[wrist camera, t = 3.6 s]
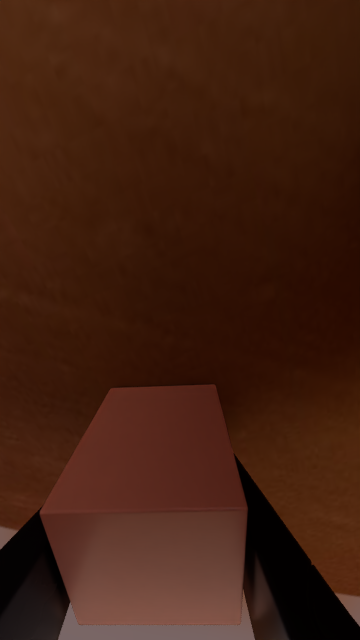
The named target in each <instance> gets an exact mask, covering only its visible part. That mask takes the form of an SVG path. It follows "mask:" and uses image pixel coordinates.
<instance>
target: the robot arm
mask: <svg viewBox="0 0 360 640" xmlns="http://www.w3.org/2000/svg"><path fill="white" fill-rule="evenodd" d="M234 457H235V461H236V465H237V469H238V472H239V476H240V480H241V484H242V488H243V491H244V495H245V499H246V503H247V507H248V514H247V530H246V547H245V564H244V580H243V590H244V594H245V598H246V603H247V607H248V611H249V616H250V620H251V624H252V628H253V633H254V637H255V640H360V626H359V625H358V624H357V622H356V621H355V620H354V619H353V618H352V616H351V615H350V614H349V612H348V611H347V610H346V608H345V607H344V605H343V604H342V603H341V602H340V600H339V599H338V597H337V596H336V595H335V593H334V592H333V591H332V589H331V588H330V587H329V585H328V584H327V583H326V581H325V580H324V578H323V577H322V576H321V574H320V573H319V571H318V570H317V569H316V567H315V566H314V565H311V560H310V559H309V558H308V556H307V555H306V553H305V552H304V551H303V549H302V548H301V546H300V545H299V544H298V542H297V541H296V539H295V538H294V537H293V535H292V534H291V532H290V531H289V530H288V528H287V527H286V525H285V524H284V523H283V521H282V520H281V518H280V517H279V516H278V514H277V513H276V511H275V510H274V509H273V507H272V506H271V504H270V503H269V502H268V500H267V499H266V497H265V496H264V495H263V493H262V492H261V490H260V489H259V488H258V486H257V485H256V483H255V482H254V481H253V479H252V478H251V476H250V475H249V474H248V472H247V471H246V469H245V468H244V467H243V465H242V464H241V462H240V461H239V460H238V458H237V457H236V455H235V454H234ZM42 507H43V506H42ZM42 507H41V508H42ZM41 508H40V509H39V510H38V511H37V512H36V513H35V514H34V515H33V516H32V518H31V519H30V520H29V521H28V522H27V523H26V524H25V525H24V526H23V527H22V528H21V529H20V530H19V531H18V532H17V533H16V534H15V535H14V536H13V537H12V538H11V539H10V541H8V542H7V543H6V545H4V546H3V548H2V549H1V550H0V640H58V637H59V634H60V631H61V628H62V625H63V622H64V619H65V616H66V613H67V610H68V607H69V604H70V599H69V596H68V594H67V591H66V588H65V585H64V582H63V579H62V576H61V574H60V571H59V568H58V565H57V562H56V559H55V557H54V554H53V551H52V548H51V545H50V542H49V540H48V537H47V534H46V531H45V528H44V525H43V523H42V520H41V517H40V510H41Z"/></svg>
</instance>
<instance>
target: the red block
mask: <svg viewBox="0 0 360 640" xmlns="http://www.w3.org/2000/svg"><path fill="white" fill-rule="evenodd" d="M247 514H248V507H247V503H246V499H245V495H244V491H243V488H242V484H241V480H240V476H239V472H238V469H237V465H236V461H235V457H234V453H233V450H232V446H231V442H230V438H229V434H228V431H227V427H226V423H225V419H224V415H223V411H222V408H221V404H220V400H219V396H218V392H217V389H216V385H215V384H210V385H182V386H154V387H126V388H111V389H110V390H109V392H108V394H107V395H106V397H105V399H104V401H103V402H102V404H101V406H100V407H99V409H98V411H97V413H96V414H95V416H94V418H93V420H92V421H91V423H90V425H89V427H88V428H87V430H86V432H85V434H84V435H83V437H82V439H81V441H80V442H79V444H78V446H77V448H76V449H75V451H74V453H73V454H72V456H71V458H70V460H69V461H68V463H67V465H66V467H65V468H64V470H63V472H62V474H61V475H60V477H59V479H58V481H57V482H56V484H55V486H54V488H53V489H52V491H51V493H50V494H49V496H48V498H47V500H46V501H45V503H44V505H43V507H42V508H41V510H40V517H41V520H42V523H43V525H44V528H45V531H46V534H47V537H48V540H49V542H50V545H51V548H52V551H53V554H54V557H55V559H56V562H57V565H58V568H59V571H60V574H61V576H62V579H63V582H64V585H65V588H66V591H67V594H68V596H69V599H70V602H71V605H72V608H73V611H74V613H75V616H76V619H77V622H78V624H79V625H240V624H241V614H242V597H243V580H244V564H245V547H246V530H247Z"/></svg>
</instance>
